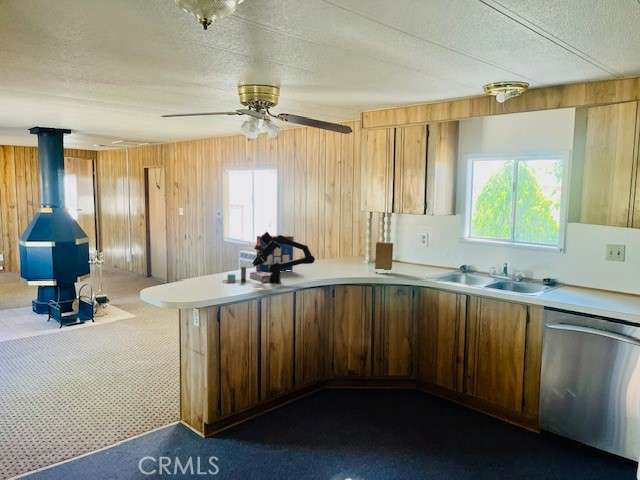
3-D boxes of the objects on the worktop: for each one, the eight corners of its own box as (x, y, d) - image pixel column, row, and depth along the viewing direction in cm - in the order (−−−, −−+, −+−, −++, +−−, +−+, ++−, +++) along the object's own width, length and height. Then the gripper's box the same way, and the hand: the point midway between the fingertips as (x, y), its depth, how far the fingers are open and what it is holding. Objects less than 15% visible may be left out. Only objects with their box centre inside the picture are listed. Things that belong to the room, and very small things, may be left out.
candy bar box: (262, 271, 348) (275, 274, 336) (262, 277, 348) (275, 281, 336) (249, 272, 340) (262, 275, 328) (249, 279, 341) (262, 283, 329)
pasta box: (287, 269, 390) (289, 235, 387) (292, 271, 383) (293, 236, 381) (256, 271, 376) (257, 236, 373) (260, 273, 369) (261, 237, 366)
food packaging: (392, 272, 394) (393, 242, 392) (390, 274, 385) (392, 243, 383) (376, 271, 398) (377, 241, 395) (374, 273, 389) (375, 242, 386)
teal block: (234, 280, 326) (235, 273, 326) (235, 282, 322) (235, 274, 321) (227, 280, 325) (227, 273, 325) (227, 282, 321) (227, 274, 320)
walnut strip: (250, 281, 332) (250, 265, 331) (251, 284, 321) (251, 268, 320) (222, 281, 328) (222, 265, 327) (222, 284, 316) (222, 268, 315)
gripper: (260, 239, 334) (244, 254, 333) (263, 241, 316) (245, 258, 315) (271, 250, 337) (255, 265, 335) (274, 253, 319) (257, 270, 317)
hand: (253, 264), depth 326 cm, fingers open, 9 cm apart
